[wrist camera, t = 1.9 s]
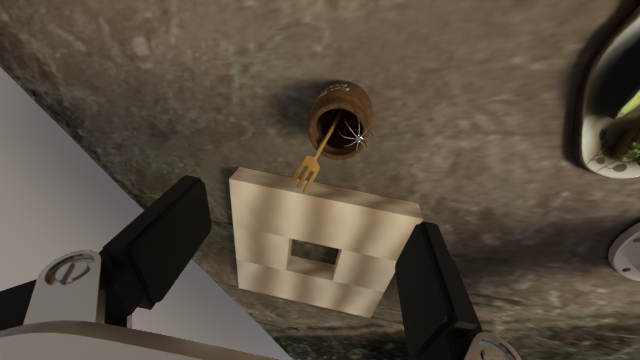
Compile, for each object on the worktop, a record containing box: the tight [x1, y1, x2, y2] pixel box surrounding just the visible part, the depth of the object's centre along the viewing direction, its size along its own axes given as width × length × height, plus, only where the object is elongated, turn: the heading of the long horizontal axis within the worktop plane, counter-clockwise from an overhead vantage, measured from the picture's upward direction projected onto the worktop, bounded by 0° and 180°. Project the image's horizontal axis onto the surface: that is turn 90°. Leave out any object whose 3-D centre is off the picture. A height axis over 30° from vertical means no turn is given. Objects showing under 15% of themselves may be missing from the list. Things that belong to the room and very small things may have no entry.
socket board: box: [229, 167, 423, 318], centre depth 36 cm, size 24×24×3 cm
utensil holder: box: [291, 82, 373, 194], centre depth 20 cm, size 6×6×12 cm
